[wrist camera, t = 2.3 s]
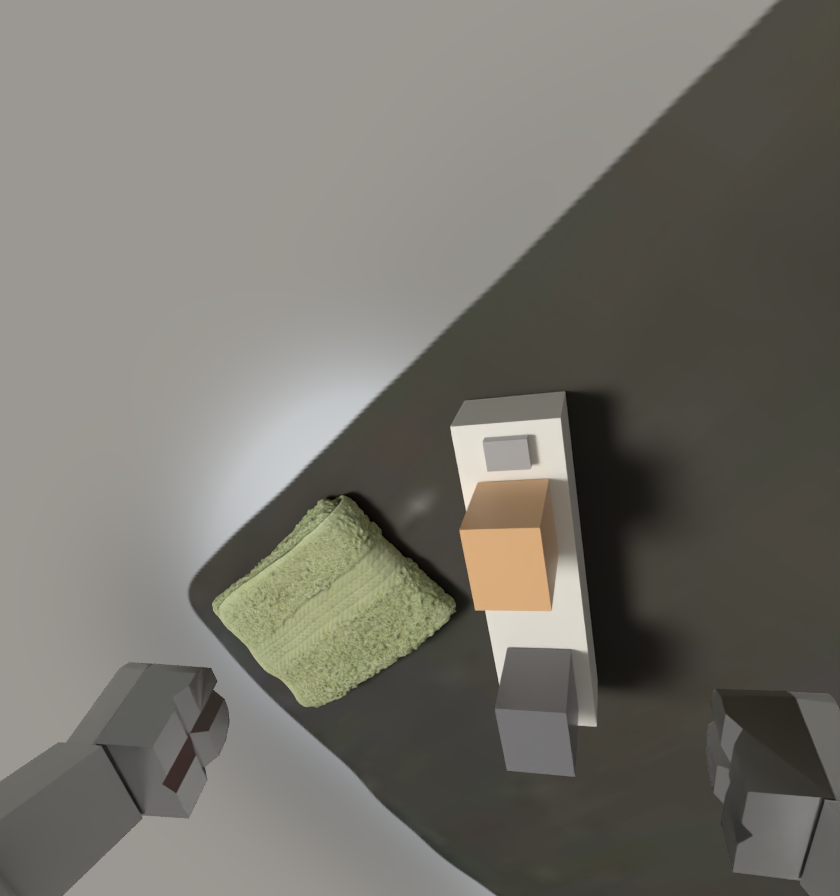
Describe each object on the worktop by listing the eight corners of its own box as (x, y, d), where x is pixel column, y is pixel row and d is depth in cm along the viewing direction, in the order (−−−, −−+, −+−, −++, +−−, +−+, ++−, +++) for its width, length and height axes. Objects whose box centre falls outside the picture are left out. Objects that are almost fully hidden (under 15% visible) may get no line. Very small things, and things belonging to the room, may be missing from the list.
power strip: (597, 681, 46) (596, 734, 42) (513, 677, 47) (504, 727, 43) (565, 391, 37) (559, 422, 33) (464, 400, 39) (447, 431, 35)
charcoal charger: (580, 685, 44) (574, 776, 37) (521, 682, 45) (506, 770, 39) (572, 627, 42) (565, 713, 35) (511, 625, 43) (494, 708, 37)
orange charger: (561, 535, 39) (551, 611, 33) (496, 537, 40) (475, 610, 34) (551, 461, 37) (539, 527, 31) (483, 465, 38) (459, 529, 32)
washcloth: (213, 595, 53) (190, 621, 50) (342, 476, 44) (324, 499, 42) (327, 698, 55) (312, 729, 52) (473, 603, 46) (465, 633, 43)
